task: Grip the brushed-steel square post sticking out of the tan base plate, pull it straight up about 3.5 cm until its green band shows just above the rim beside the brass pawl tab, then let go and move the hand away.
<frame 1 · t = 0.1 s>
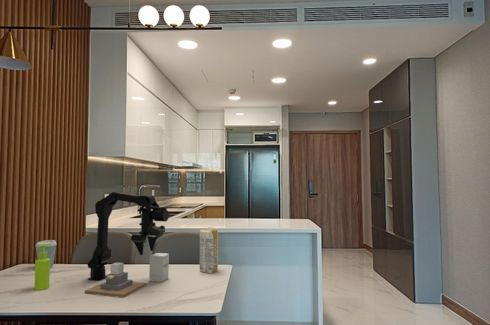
hand: (146, 252, 171), 15 cm above the table, tool pointing down, fingers open, 9 cm apart
disposable coffee cup: (45, 268, 199), on the table
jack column: (117, 274, 162), point 6 cm above the table, slide at 0.0 cm
soap dispenser: (42, 288, 163), on the table
supplement box: (159, 280, 177), on the table
tan base plate: (116, 289, 161), on the table
juice carton: (208, 271, 193), on the table
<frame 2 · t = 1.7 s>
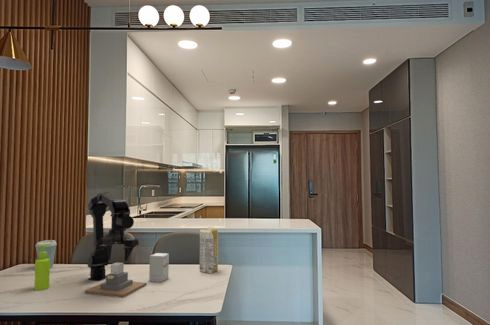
hand: (117, 260, 162), 13 cm above the table, tool pointing down, fingers open, 9 cm apart
nothing on the table moved.
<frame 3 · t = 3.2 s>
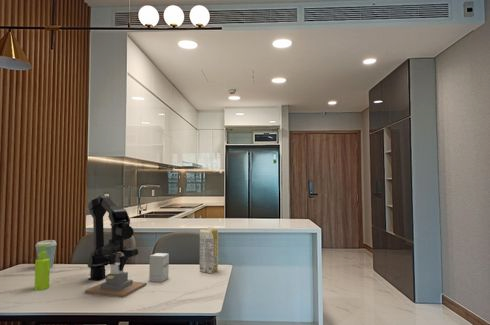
hand: (117, 270, 162), 8 cm above the table, tool pointing down, fingers closed on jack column, 4 cm apart
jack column: (116, 274, 162), point 6 cm above the table, slide at 0.0 cm, touching gripper
everything else where it was.
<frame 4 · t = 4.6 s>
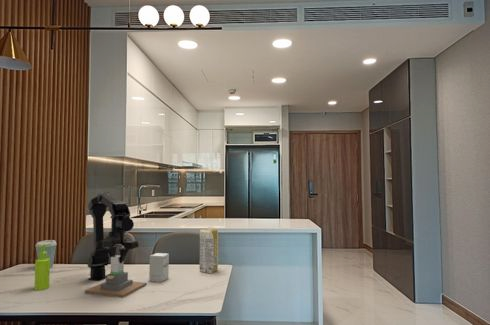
hand: (117, 262, 162), 12 cm above the table, tool pointing down, fingers closed on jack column, 4 cm apart
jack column: (117, 267, 162), point 10 cm above the table, slide at 3.4 cm, touching gripper
everything else where it was.
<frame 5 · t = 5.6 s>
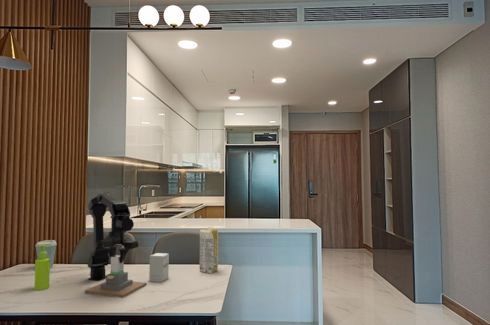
hand: (117, 262, 162), 12 cm above the table, tool pointing down, fingers closed on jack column, 4 cm apart
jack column: (117, 267, 162), point 10 cm above the table, slide at 3.4 cm, touching gripper
everything else where it was.
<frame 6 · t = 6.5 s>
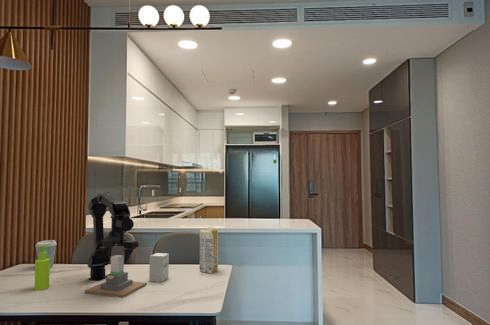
hand: (117, 262, 162), 12 cm above the table, tool pointing down, fingers open, 9 cm apart
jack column: (117, 267, 162), point 10 cm above the table, slide at 3.4 cm
everything else where it was.
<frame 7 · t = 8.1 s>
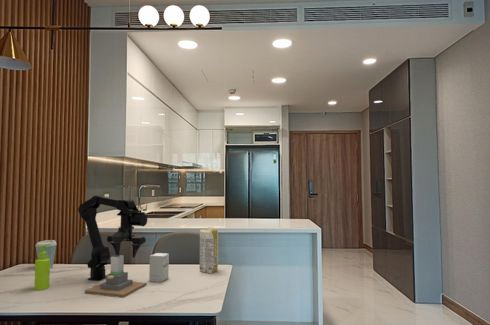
hand: (125, 256, 173), 12 cm above the table, tool pointing down, fingers open, 9 cm apart
nothing on the table moved.
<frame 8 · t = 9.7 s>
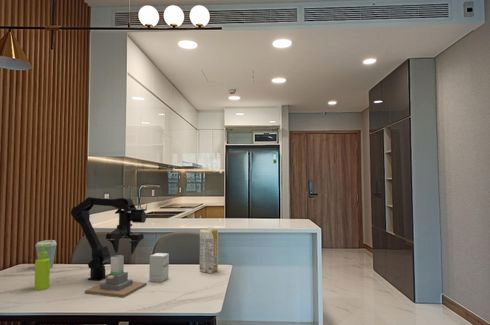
hand: (124, 253, 177), 13 cm above the table, tool pointing down, fingers open, 9 cm apart
nothing on the table moved.
at the end: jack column slide at 3.4 cm; the gripper is holding nothing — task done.
